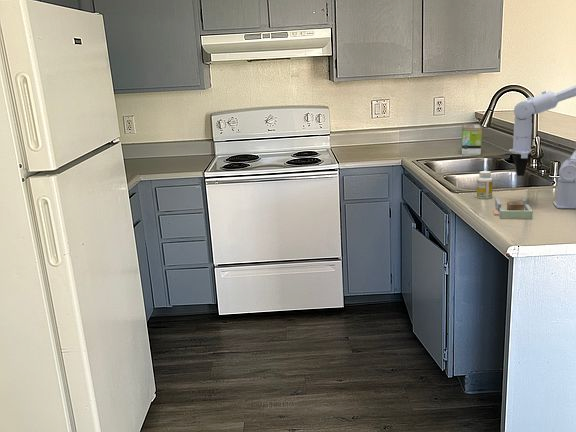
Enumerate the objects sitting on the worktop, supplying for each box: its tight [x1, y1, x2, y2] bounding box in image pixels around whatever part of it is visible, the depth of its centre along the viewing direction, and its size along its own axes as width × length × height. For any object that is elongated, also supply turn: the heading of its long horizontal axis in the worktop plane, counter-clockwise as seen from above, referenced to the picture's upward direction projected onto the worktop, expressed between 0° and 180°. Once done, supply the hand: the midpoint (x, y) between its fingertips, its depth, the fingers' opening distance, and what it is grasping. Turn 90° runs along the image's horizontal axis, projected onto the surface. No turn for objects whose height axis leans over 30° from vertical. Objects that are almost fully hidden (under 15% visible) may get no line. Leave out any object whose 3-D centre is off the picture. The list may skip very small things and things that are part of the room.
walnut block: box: [506, 200, 525, 211], centre depth 183 cm, size 4×4×4 cm
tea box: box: [460, 124, 483, 156], centre depth 303 cm, size 15×10×15 cm
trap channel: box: [492, 197, 533, 220], centre depth 188 cm, size 12×18×2 cm
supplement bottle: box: [476, 170, 494, 200], centre depth 208 cm, size 5×5×10 cm
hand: (520, 175), depth 196 cm, fingers closed
